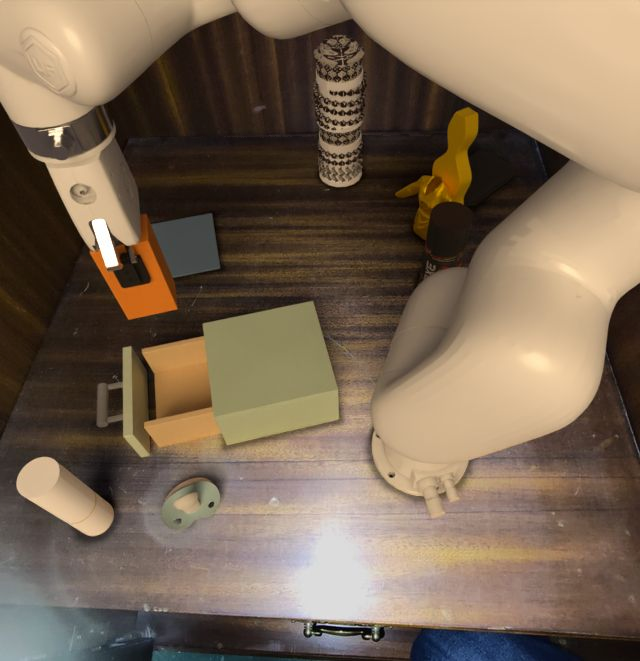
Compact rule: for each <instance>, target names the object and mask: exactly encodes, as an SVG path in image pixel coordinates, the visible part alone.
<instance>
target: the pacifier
mask: <svg viewBox="0 0 640 661" xmlns="http://www.w3.org/2000/svg"><path fill="white" fill-rule="evenodd" d="M212 502H213V506H212V507H210V506H209V505H210V503H212ZM220 504H221V493H220V490H219V488H218V487H217V486H216V485H215V484H214V483H213V482H212V480H210V479H208V478H205V477H192V478H189V479H186V480H184V481H182V482H181V483H179V484H177V485H176V486H174V488H172V489H171V490H170V492H169V493H167V496H166V498H165V500H164V503H163V505H162V508H161V510H160V517H161V518H160V519H161V521H162V523H163V524H164V526H166V527H167V528H168V529H170V530H173V531H182V530H185V529H187V528H189V527H190V526H191V525H193V524H194V523H195V521H196V520H198V519H207V518H210V517H211V516H212V515H214V514H215V513H216V512H217V511H218V509H219V507H220ZM179 519H180V520H181V522H180V523H175V522H176V520H179Z"/></svg>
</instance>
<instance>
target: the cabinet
mask: <svg viewBox="0 0 640 661" xmlns="http://www.w3.org/2000/svg"><path fill="white" fill-rule="evenodd" d="M202 331H203V336H204V340H205V348H206V357H207V365H208V374H209V382H210V390H211V399H212V407H213V416H214V419H215V421H216V423H217V425H218V427H219V429H220V431H221V436H222V438H223V439H224V442H225V444H226V446H229V445H234V444H235V445H236V444H240V443H244V442H249V441H253V440H256V439H260V438H265V437H269V436H274V435H278V434H282V433H287V432H291V431H295V430H300V429H304V428H309V427H313V426H317V425H321V424H326V423H331V422H335V421H338V420H339V421H340V406H339V405H340V401H339V388H338V383H337V379H336V377H335V372H334V370H333V365H332V363H331V362H332V361H331V358H330V355H329V352H328V349H327V345H326V341H325V338H324V337H325V336H324V334H323V331H322V327H321V323H320V320H319V317H318V313H317V310H316V306H315V302H314V300H310V301H304V302H300V303H294V304H291V305H286V306H285V305H284V306H281V307H276V308H272V309H271V308H270V309H266V310H261V311H256V312H252V313H251V312H250V313H246V314H241V315H237V316H232V317H227V318H223V319H218V320H212V321H207V322H203V323H202Z"/></svg>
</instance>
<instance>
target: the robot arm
mask: <svg viewBox="0 0 640 661" xmlns="http://www.w3.org/2000/svg"><path fill="white" fill-rule="evenodd" d="M235 13H239V15H240V16H241V17H242V19H243V20H244V21H245V22H246V23H247V24H248V25H249V26H251V27H252V28H253V29H255V30H256V31H257V32H259V33H261V34H262V35H264V36H265V37H268V38H272V39H277V40H289V39H294V38H297V37H298V38H299V37H301V36H304V35H307V34H310V33H313V32H316V31H318V30H323V29H325V28H328V27H331V26H334V25H338V24H340V23H343V22H346V21H349V20H353V21H354V22H355V24H357V25H358V26H359V28H360V29H361V30H362V31H363V32H364V33H365V34H366V36H368V37H369V38H370V39H371V40H372V41H373V42H375V43H376V44H378V45H379V46H380V47H382V48H383V49H384V50H386V51H387V52H389V53H390V54H391V55H392V56H394V57H395V58H396V59H397V60H398V61H400V62H401V63H403V64H405V65H406V66H407V67H408V68H410V69H412V70H414V72H416V73H418V74H420V75H421V76H423V77H425V78H426V79H428V80H430V81H431V82H433V83H435V84H436V85H438V86H440V87H441V88H443V89H445V90H446V91H448V92H450V93H451V94H453V95H455V96H457V97H459V98H460V99H462V100H463V101H465V102H466V103H469V104H471V105H473V106H474V107H476V108H478V109H480V110H482V111H483V112H485V113H487V114H489V115H491V116H493V117H495V118H496V119H498V120H500V121H501V122H503V123H506V124H507V125H509V126H511V127H513V128H515V129H517V130H518V131H519V132H522V133H524V135H525V134H526V135H527V136H529V137H531V138H532V139H534V140H536V141H538V142H539V143H541V144H543V145H544V146H546V147H548V148H550V149H551V150H553V151H555V152H556V153H559V154H560V155H562V156H564V157H565V158H567V159H569V160H568V161H567V162H566V163H565V164H564V165H563V166H562V167H561V168H560V169H559V170H557V172H555V173H554V174H553V175H551V177H549V179H548V180H546V182H544V183H543V184H542V185H541V186H540V187H539V188H538V189H537V190H535V191H534V192H533V193H532V194H531V195H530V196H529V197H528V198H527V199H526V200H524V201H523V203H521V204H520V205H518V207H517V208H516V209H515V210H513V211H512V212H511V213H510V214H509V215H508V216H506V217H505V218H504V219H503V220H502V221H501V222H500V223H499V224H498V225H496V226H495V227H494V228H493V229H492V230H491V231H490V232H488V233H487V235H486V236H485V237H484V238H483V239H482V240H481V242H480V243H479V244H478V245H477V248H476V249H475V251H474V253H473V255H472V257H471V259H470V262H469V264H468V267H464V266H461V267H453V268H447V269H443V270H440V271H438V272H435V273H433V274H432V275H430V276H428V277H427V278H426V279H424V280H423V281H422V282H421V283H420V284H419V285H417V286H416V288H415V289H413V292H412V293H410V294H411V295H410V297H409V298H408V300H407V301H406V304H405V306H404V309H403V312H402V314H401V316H400V319H399V321H398V324H397V327H396V329H395V332H394V335H393V337H392V340H391V343H390V347H389V350H388V353H387V354H386V355H387V356H386V358H385V361H384V363H383V366H382V369H381V371H380V374H379V376H378V379H377V381H376V383H375V387H374V389H373V392H372V396H371V399H370V405H369V406H370V407H369V413H370V414H369V415H370V421H371V423H372V426H373V429H374V430H373V433H372V436H371V437H372V438H371V454H372V455H371V456H372V459H373V462H374V464H375V467H376V469H377V471H378V472H379V474H380V475H381V476H382V478H383V479H384V480H385V481H386V482H387V484H389V485H391V486H392V487H394V488H395V489H396V490H398V491H400V492H403V493H405V494H408V495H412V496H415V497H416V496H417V497H423V498H424V501H425V506H426V509H427V512H428V516H429V517H430V518H431V519H434V518H439V517H441V516H444V515H445V514H446V513H447V512H446V509H445V507H444V503H443V501H442V497H440V495H441V494H443V493H445V494H446V497H447V500H448V502H449V503H455V502H457V501H459V500H461V497H460V495H459V492H458V489H457V487H456V485H457V484H458V483H459V482H460V481H461V479H462V478H463V476H464V475H465V472H466V470H467V468H468V466H469V462H470V461H472V460H474V459H477V458H481V457H484V456H487V455H490V454H494V453H496V452H500V451H502V450H505V449H508V448H511V447H514V446H517V445H520V444H524V443H527V442H530V441H533V440H535V439H538V438H542V437H545V436H547V435H549V434H552V433H554V432H557V431H560V430H561V429H563V428H565V427H567V426H568V425H570V424H572V423H573V422H574V421H576V420H577V419H578V418H579V416H581V415H582V414H583V413H584V412H585V411H586V409H587V408H589V406H590V404H591V403H592V402H593V400H594V398H595V397H596V395H597V392H598V391H599V387H600V384H601V381H602V377H603V373H604V367H605V359H606V352H607V351H606V350H607V341H608V333H609V327H610V326H609V324H610V321H611V318H612V315H613V313H614V309H615V307H616V305H617V303H618V301H619V300H620V299H621V298H622V297H624V295H625V294H626V293H628V292H629V291H630V290H632V289H633V288H635V287H636V286H637V285H639V284H640V0H0V104H1V106H2V108H3V109H4V111H5V112H6V114H7V115H8V118H9V120H10V122H11V123H12V125H13V127H14V128H15V130H16V132H17V134H18V135H19V137H20V138H21V141H22V142H23V144H24V145H25V147H26V149H27V151H28V153H29V154H30V155H31V157H33V158H34V159H35V160H37V161H39V162H42V163H44V164H45V166H46V168H47V170H48V173H49V176H50V177H51V179H52V182H53V185H54V186H55V188H56V191H57V192H58V195H59V197H60V198H61V201H62V203H63V205H64V208H65V209H66V211H67V213H68V215H69V217H70V219H71V221H72V223H73V224H74V226H75V228H76V230H77V232H78V233H79V235H80V237H81V238H82V240H83V241H84V244H85V245H86V246H87V248H89V250H90V249H91V250H92V251H94V252H98V250H99V247H100V250H101V253H102V256H103V260H104V263H105V266H106V269H107V271H108V272H110V271H113V273H114V274H115V276H116V278H117V280H118V282H119V284H120V285H121V287H122V288H129V287H134V286H139V285H144V284H148V283H150V282H151V280H150V276H149V274H148V271H147V269H146V267H145V265H144V263H143V261H142V258H141V256H140V255H136V253H135V250H134V248H133V245H136V244H138V242H139V241H140V238H141V223H140V215H141V209H140V208H141V207H140V196H139V190H138V185H137V182H136V180H135V178H134V176H133V173H132V171H131V168H130V167H129V165H128V162H127V160H126V158H125V156H124V154H123V151H122V149H121V147H120V145H119V143H118V141H117V139H116V133H117V127H116V123H115V121H114V119H113V117H112V114H111V111H110V109H109V106H108V103H109V102H111V101H112V100H114V99H115V98H117V97H118V96H119V95H121V93H123V92H124V91H125V90H126V89H128V87H129V86H131V85H132V84H133V83H134V82H135V81H136V80H137V79H138V78H139V77H140V76H141V75H142V74H144V73H145V72H146V70H147V69H149V68H150V67H151V66H152V65H153V64H154V63H155V62H156V61H157V60H158V59H160V57H161V56H162V55H163V54H164V53H166V52H167V51H168V50H169V49H170V48H172V47H173V46H174V45H175V44H176V43H177V42H179V41H180V40H181V39H182V38H184V36H186V35H187V34H189V33H190V32H192V31H194V30H196V29H197V28H199V27H202V26H204V25H206V24H210V23H212V22H214V21H217V20H220V19H222V18H224V17H227V16H231V15H232V14H235ZM113 235H114V236H113ZM123 244H124V246H125V249H126V251H127V253H120V254H119V253H118V251H117V248H116V246H118V245H123ZM390 476H392V477H390Z"/></svg>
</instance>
